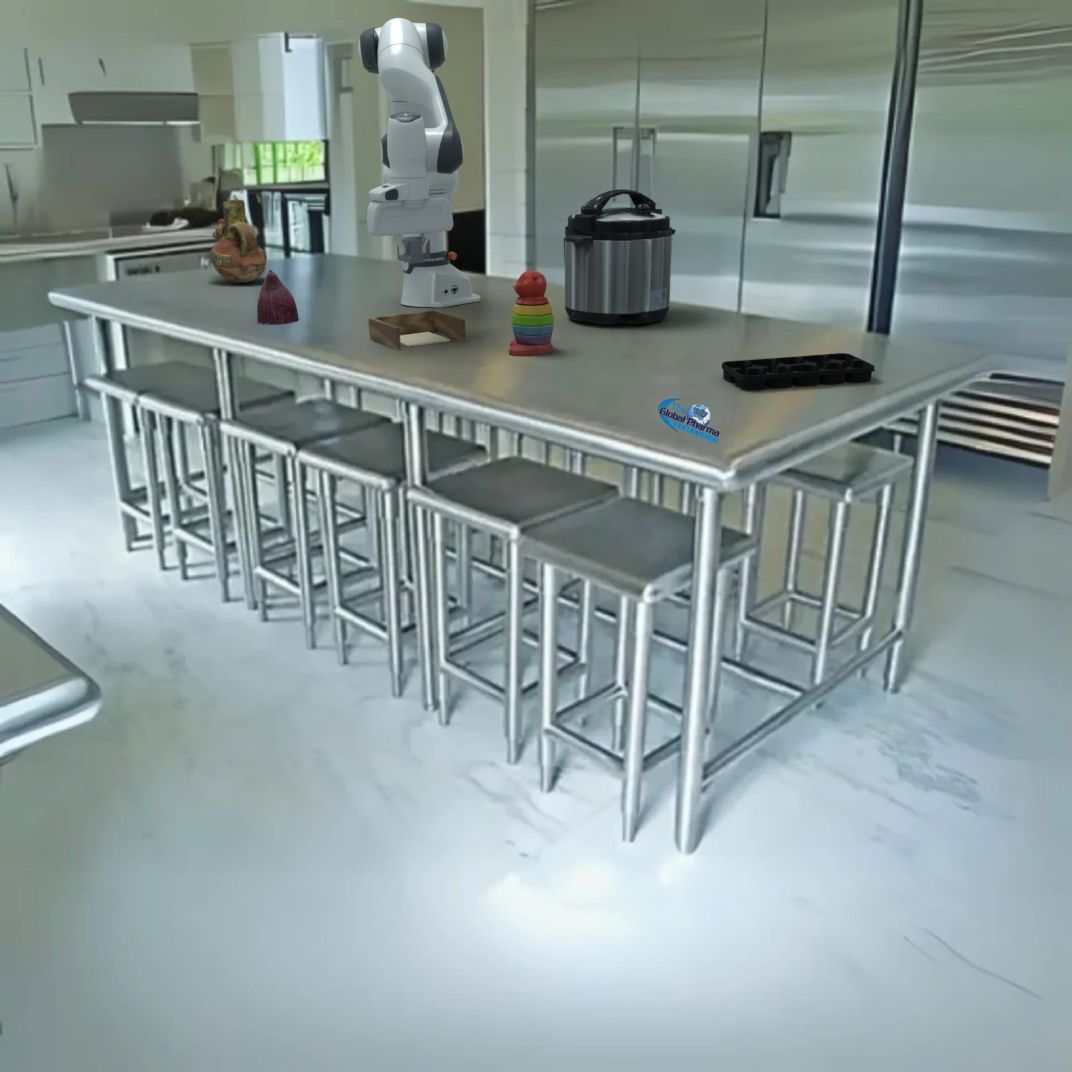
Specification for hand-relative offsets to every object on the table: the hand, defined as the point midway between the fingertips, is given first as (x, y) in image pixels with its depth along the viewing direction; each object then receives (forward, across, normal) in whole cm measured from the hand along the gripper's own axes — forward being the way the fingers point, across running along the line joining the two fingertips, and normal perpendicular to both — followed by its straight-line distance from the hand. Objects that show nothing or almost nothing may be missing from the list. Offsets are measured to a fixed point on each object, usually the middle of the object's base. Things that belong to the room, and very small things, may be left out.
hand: (412, 254), depth 245 cm
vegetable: (+20, +18, -44) cm, 52 cm away
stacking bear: (+20, -17, +24) cm, 36 cm away
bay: (+20, -1, -2) cm, 20 cm away
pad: (+20, -1, -2) cm, 20 cm away
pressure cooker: (+20, -55, +3) cm, 59 cm away
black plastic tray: (+21, -47, +77) cm, 92 cm away
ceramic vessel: (+20, +6, -112) cm, 114 cm away
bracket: (+2, -2, -1) cm, 3 cm away
